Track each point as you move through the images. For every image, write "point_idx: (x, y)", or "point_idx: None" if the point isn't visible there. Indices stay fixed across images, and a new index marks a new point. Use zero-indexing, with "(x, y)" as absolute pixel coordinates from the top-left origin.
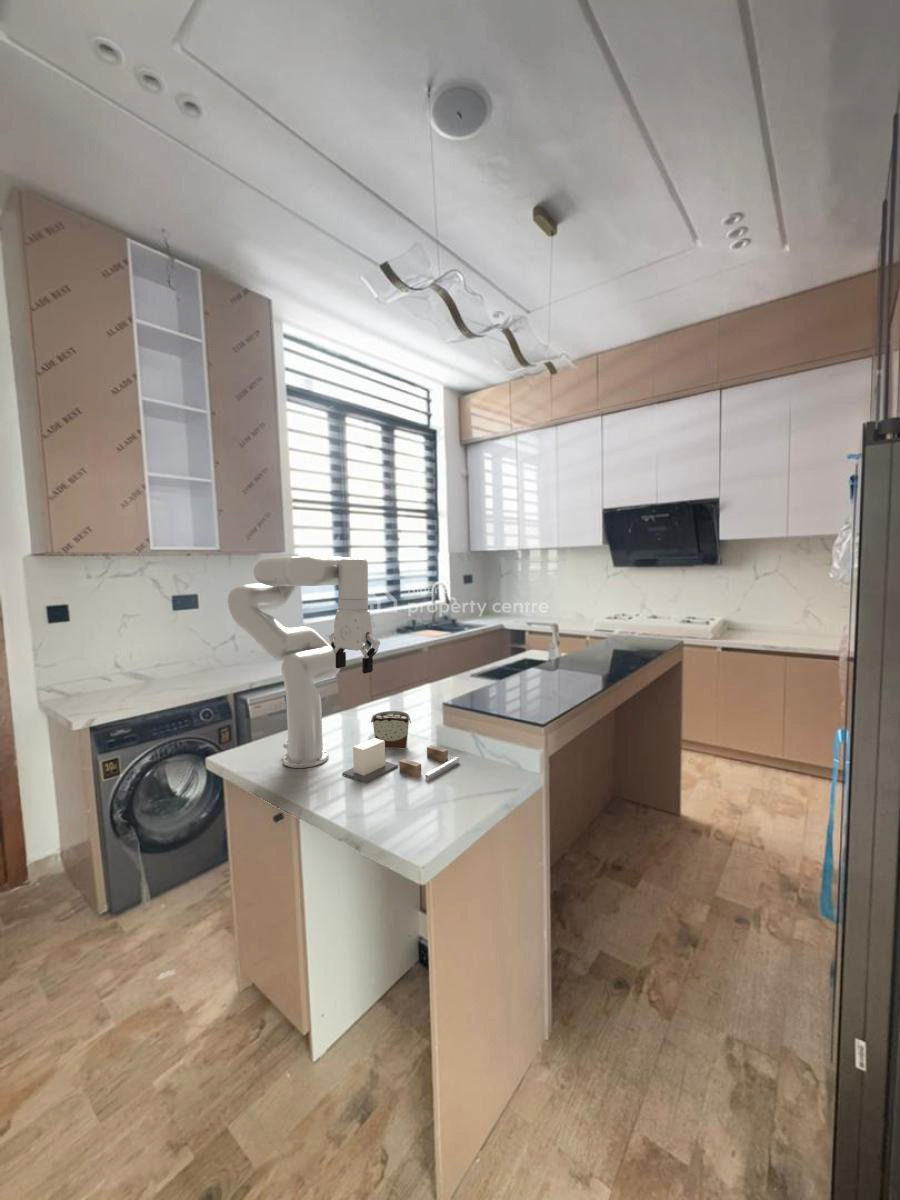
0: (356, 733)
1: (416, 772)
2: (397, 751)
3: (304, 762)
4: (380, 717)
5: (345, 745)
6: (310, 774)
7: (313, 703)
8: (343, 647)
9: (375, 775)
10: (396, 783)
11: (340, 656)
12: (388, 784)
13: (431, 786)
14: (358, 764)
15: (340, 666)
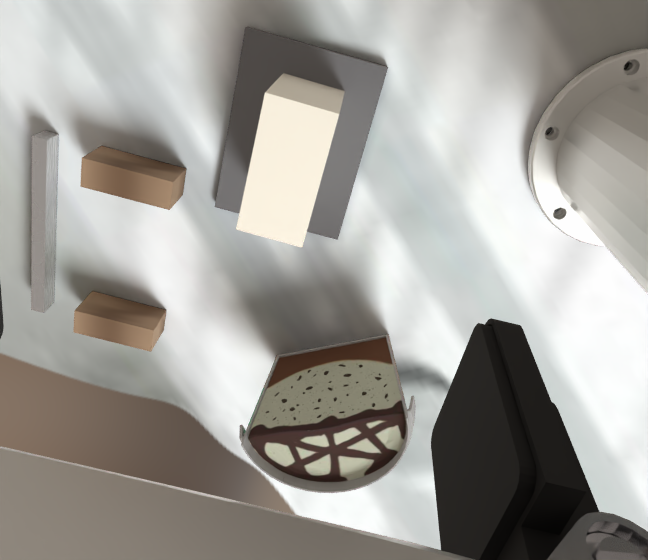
0: None
1: (93, 151)
2: (295, 328)
3: (605, 87)
4: (379, 431)
5: (522, 325)
6: (530, 20)
7: None
8: (187, 504)
9: (240, 90)
10: (138, 70)
11: (484, 486)
12: (161, 51)
13: (9, 93)
14: (310, 88)
15: (462, 368)
